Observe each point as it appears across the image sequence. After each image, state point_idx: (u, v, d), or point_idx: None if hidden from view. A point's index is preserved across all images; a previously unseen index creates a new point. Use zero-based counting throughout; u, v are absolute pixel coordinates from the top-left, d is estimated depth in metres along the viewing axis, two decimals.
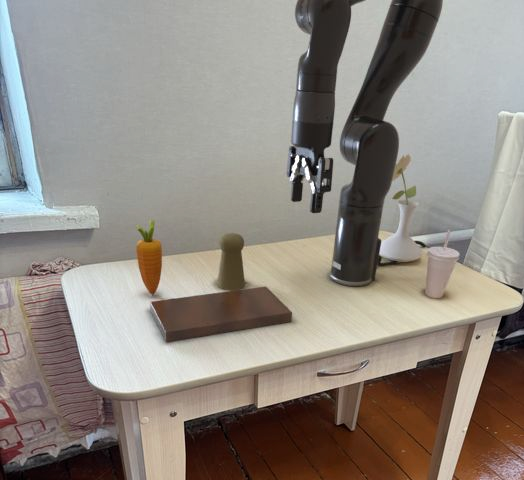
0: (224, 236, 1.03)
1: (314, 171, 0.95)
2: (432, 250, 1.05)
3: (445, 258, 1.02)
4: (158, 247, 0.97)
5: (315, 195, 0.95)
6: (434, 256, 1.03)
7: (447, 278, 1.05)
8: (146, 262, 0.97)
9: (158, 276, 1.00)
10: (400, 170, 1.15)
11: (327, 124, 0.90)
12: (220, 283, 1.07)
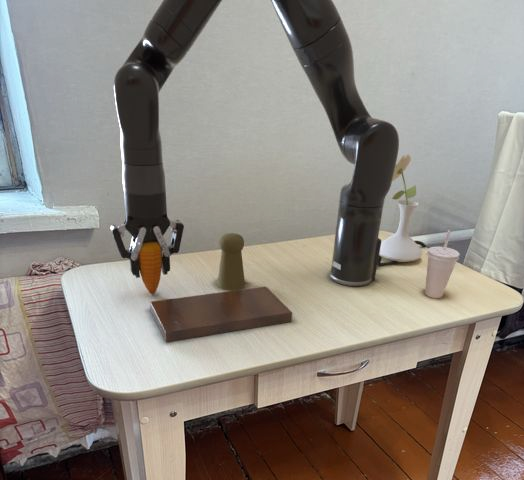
0: (224, 236, 1.03)
1: None
2: (432, 250, 1.05)
3: (445, 258, 1.02)
4: (158, 247, 0.97)
5: None
6: (434, 256, 1.03)
7: (447, 278, 1.05)
8: (146, 262, 0.97)
9: (158, 276, 1.00)
10: (400, 170, 1.15)
11: (125, 193, 0.90)
12: (220, 283, 1.07)
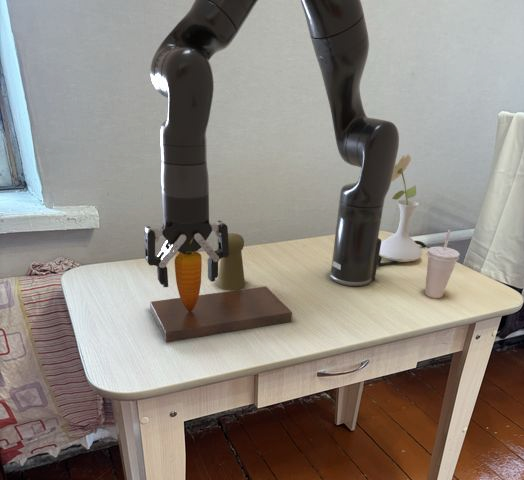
0: None
1: None
2: (432, 250, 1.05)
3: (445, 258, 1.02)
4: (199, 260, 0.87)
5: None
6: (434, 256, 1.03)
7: (447, 278, 1.05)
8: (185, 277, 0.87)
9: (197, 292, 0.90)
10: (400, 170, 1.15)
11: (165, 196, 0.80)
12: (220, 283, 1.07)
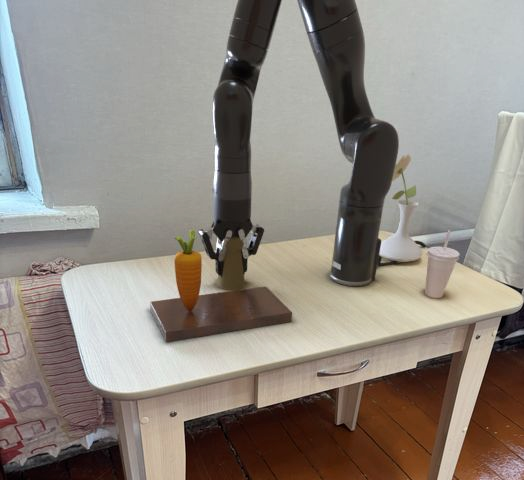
0: None
1: (218, 237, 1.03)
2: (432, 250, 1.05)
3: (445, 258, 1.02)
4: (199, 260, 0.87)
5: None
6: (434, 256, 1.03)
7: (447, 278, 1.05)
8: (185, 277, 0.87)
9: (197, 292, 0.90)
10: (400, 170, 1.15)
11: (216, 199, 0.97)
12: (220, 283, 1.07)
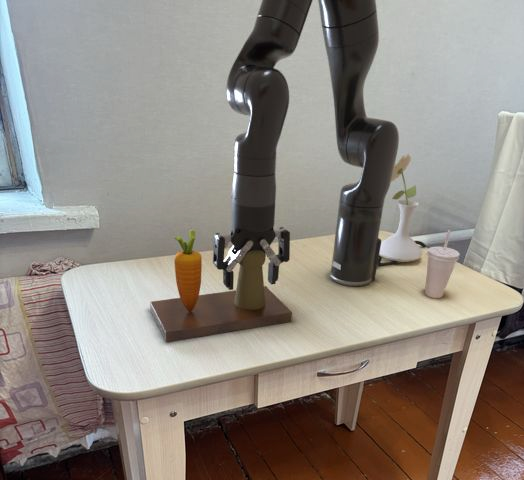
0: None
1: (236, 249, 0.91)
2: (432, 250, 1.05)
3: (445, 258, 1.02)
4: (199, 260, 0.87)
5: None
6: (434, 256, 1.03)
7: (447, 278, 1.05)
8: (185, 277, 0.87)
9: (197, 292, 0.90)
10: (400, 170, 1.15)
11: (236, 205, 0.85)
12: (238, 302, 0.95)
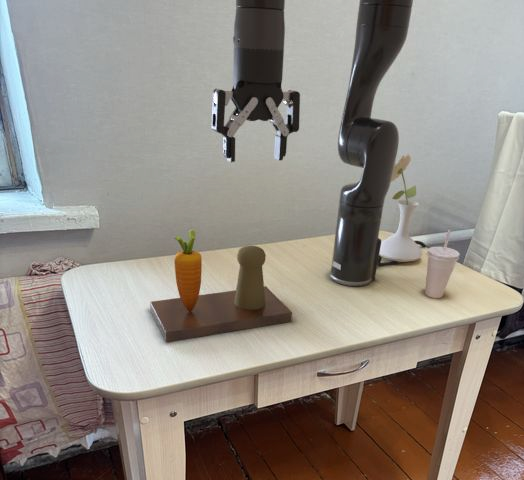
0: (243, 249, 0.91)
1: (239, 110, 0.79)
2: (432, 250, 1.05)
3: (445, 258, 1.02)
4: (199, 260, 0.87)
5: None
6: (434, 256, 1.03)
7: (447, 278, 1.05)
8: (185, 277, 0.87)
9: (197, 292, 0.90)
10: (400, 170, 1.15)
11: (238, 50, 0.73)
12: (238, 302, 0.95)
